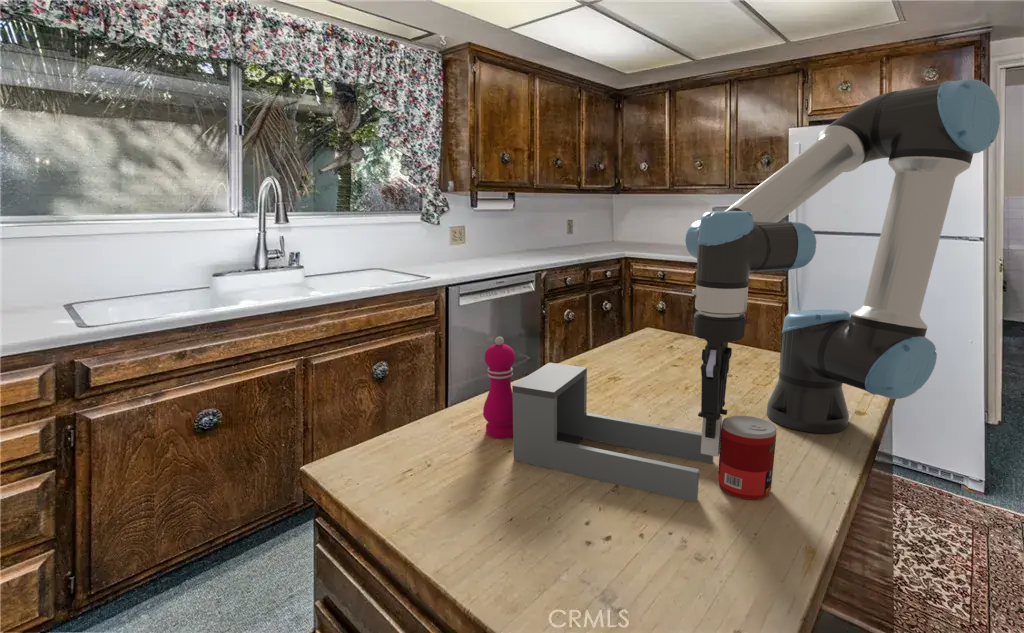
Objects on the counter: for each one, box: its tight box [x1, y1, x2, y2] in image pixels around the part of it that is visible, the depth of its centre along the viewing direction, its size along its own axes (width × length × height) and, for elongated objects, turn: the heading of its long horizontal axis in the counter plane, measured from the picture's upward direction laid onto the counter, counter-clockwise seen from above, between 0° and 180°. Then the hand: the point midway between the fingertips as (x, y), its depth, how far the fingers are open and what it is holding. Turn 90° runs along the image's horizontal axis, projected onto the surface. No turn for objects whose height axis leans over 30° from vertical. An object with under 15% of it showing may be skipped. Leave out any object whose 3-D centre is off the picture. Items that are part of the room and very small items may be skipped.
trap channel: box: [511, 362, 714, 503], centre depth 100 cm, size 32×15×14 cm, turn 62°
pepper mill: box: [482, 336, 516, 440], centre depth 112 cm, size 7×7×20 cm
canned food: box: [717, 415, 777, 500], centre depth 90 cm, size 8×8×11 cm
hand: (710, 453), depth 93 cm, fingers closed
